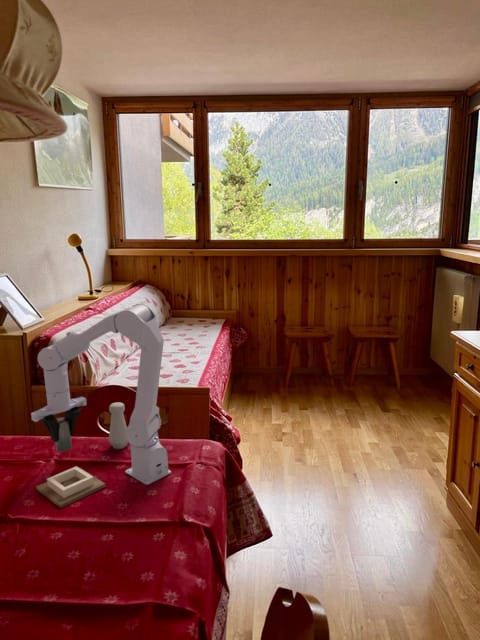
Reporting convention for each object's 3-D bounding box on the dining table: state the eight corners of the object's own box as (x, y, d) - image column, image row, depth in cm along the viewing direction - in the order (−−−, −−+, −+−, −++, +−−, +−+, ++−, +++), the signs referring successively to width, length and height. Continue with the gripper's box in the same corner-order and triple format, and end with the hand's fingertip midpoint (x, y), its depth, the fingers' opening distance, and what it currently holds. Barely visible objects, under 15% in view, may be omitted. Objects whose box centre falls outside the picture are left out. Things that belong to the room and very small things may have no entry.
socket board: (105, 486, 125) (104, 476, 124) (60, 508, 116) (59, 497, 115) (80, 470, 133) (79, 460, 132) (36, 489, 124) (35, 479, 123)
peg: (74, 447, 135) (71, 419, 133) (60, 453, 132) (57, 424, 130) (67, 443, 138) (64, 416, 136) (53, 448, 135) (50, 420, 133)
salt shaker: (127, 450, 143) (124, 407, 140) (107, 450, 143) (103, 408, 140) (131, 441, 149) (129, 400, 146) (112, 441, 149) (109, 400, 146)
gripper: (75, 379, 139) (79, 424, 142) (23, 394, 129) (29, 442, 132) (88, 384, 134) (93, 431, 137) (36, 400, 124) (42, 451, 127)
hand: (62, 437), depth 134 cm, fingers closed on peg, 4 cm apart
